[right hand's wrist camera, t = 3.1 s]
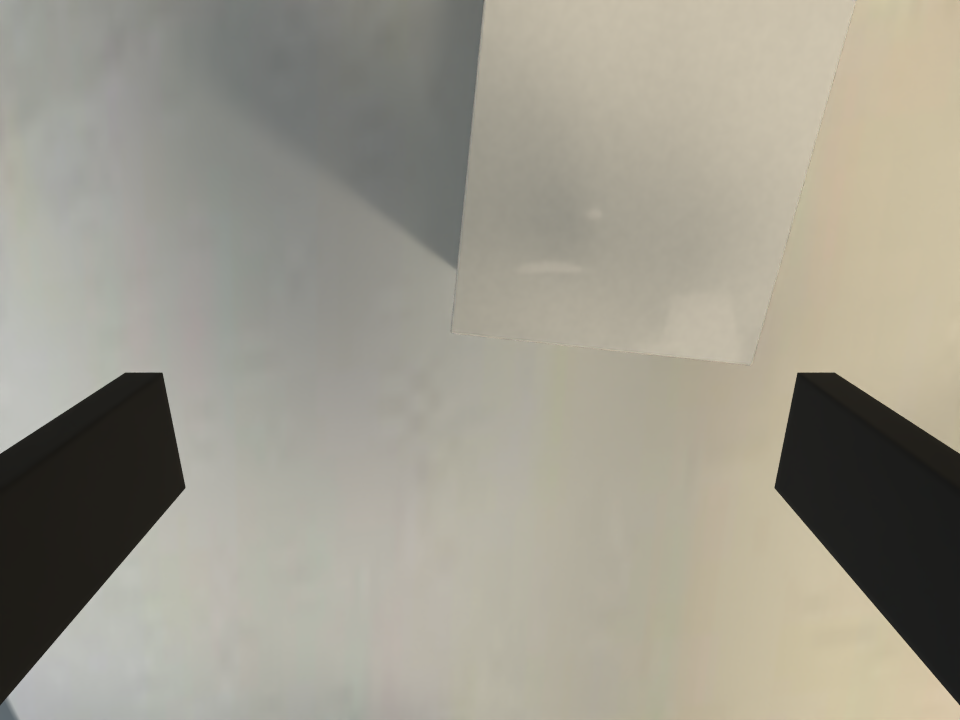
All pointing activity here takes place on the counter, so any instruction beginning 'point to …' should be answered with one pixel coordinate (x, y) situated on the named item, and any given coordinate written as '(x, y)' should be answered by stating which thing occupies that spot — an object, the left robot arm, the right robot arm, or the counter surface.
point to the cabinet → (639, 169)
